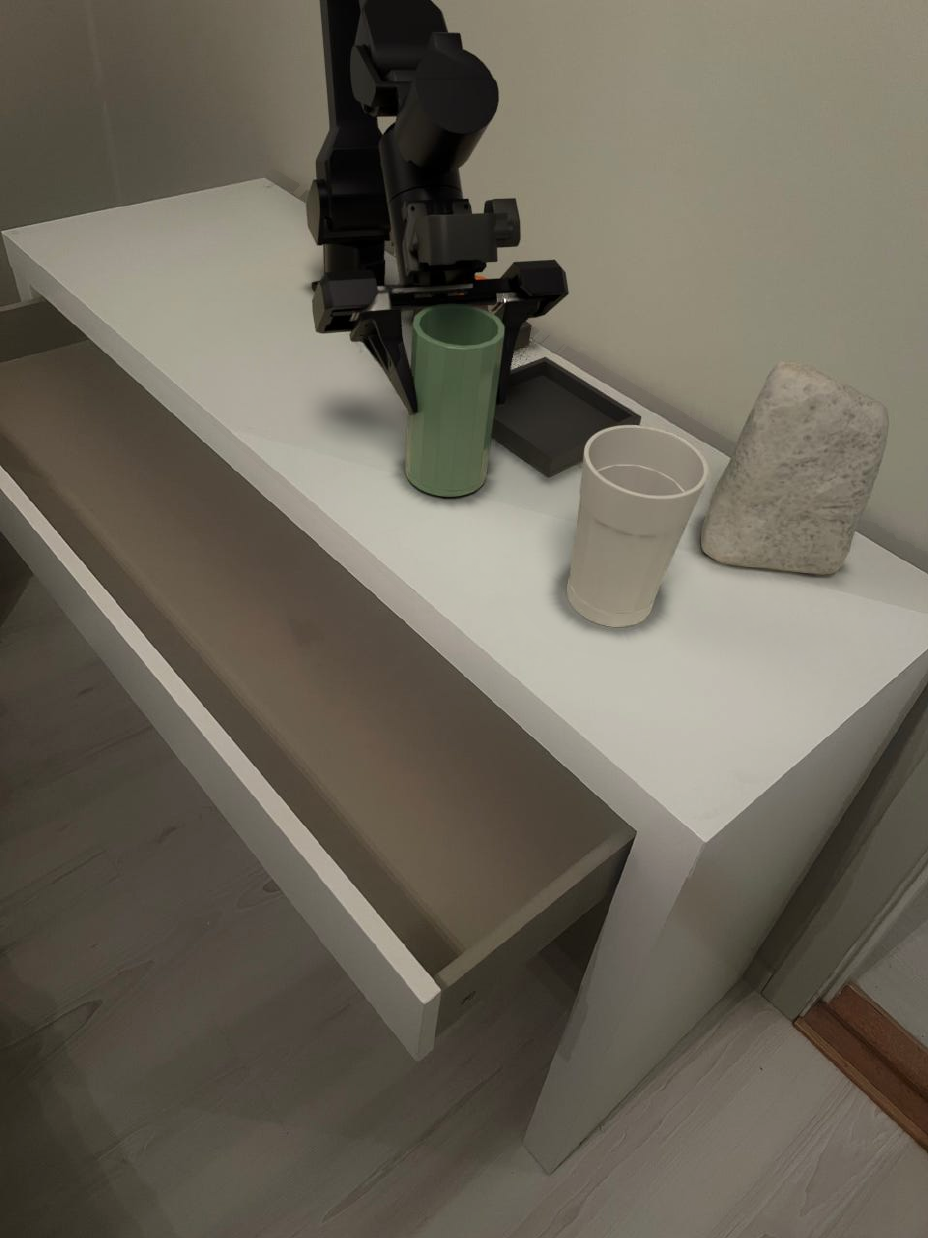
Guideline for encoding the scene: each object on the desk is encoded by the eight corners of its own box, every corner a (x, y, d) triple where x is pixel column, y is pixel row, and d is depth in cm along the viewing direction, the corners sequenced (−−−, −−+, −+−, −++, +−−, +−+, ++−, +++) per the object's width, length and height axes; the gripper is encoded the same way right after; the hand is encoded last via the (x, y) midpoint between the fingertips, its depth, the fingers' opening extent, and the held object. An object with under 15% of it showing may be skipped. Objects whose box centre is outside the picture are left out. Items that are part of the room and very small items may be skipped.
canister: (389, 465, 76) (394, 317, 67) (450, 439, 79) (463, 295, 70) (440, 507, 73) (453, 357, 64) (502, 478, 76) (523, 332, 67)
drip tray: (453, 410, 83) (455, 390, 82) (542, 374, 89) (545, 356, 88) (548, 478, 77) (551, 458, 76) (637, 435, 83) (642, 416, 82)
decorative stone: (834, 542, 74) (914, 376, 64) (840, 591, 70) (926, 422, 60) (698, 516, 75) (755, 348, 65) (696, 563, 71) (757, 391, 61)
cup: (661, 645, 65) (707, 509, 56) (548, 622, 65) (577, 484, 57) (666, 571, 70) (709, 437, 62) (562, 550, 71) (590, 415, 62)
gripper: (315, 152, 60) (354, 395, 60) (581, 147, 65) (614, 371, 65) (297, 224, 70) (330, 430, 71) (527, 215, 75) (555, 407, 76)
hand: (457, 409), depth 70 cm, fingers closed on canister, 6 cm apart
